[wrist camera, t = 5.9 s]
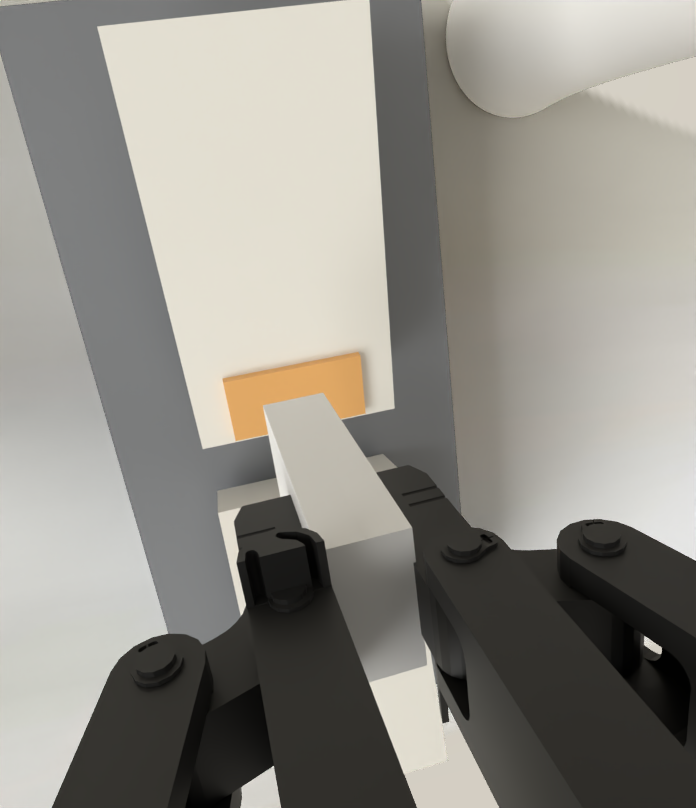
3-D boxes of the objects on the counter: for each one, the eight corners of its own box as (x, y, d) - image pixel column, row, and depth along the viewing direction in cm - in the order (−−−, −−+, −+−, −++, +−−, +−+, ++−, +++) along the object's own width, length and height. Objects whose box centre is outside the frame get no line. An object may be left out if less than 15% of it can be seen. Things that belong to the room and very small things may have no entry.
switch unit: (199, 653, 33) (203, 778, 26) (34, 44, 23) (-27, -4, 16) (437, 590, 35) (497, 691, 28) (381, 7, 25) (452, -50, 18)
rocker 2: (277, 763, 25) (284, 817, 23) (217, 490, 23) (217, 515, 20) (427, 719, 26) (450, 765, 24) (382, 453, 24) (403, 473, 21)
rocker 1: (198, 409, 22) (202, 454, 20) (104, 25, 16) (96, 26, 14) (373, 374, 23) (397, 412, 20) (343, 0, 17) (372, -3, 15)
